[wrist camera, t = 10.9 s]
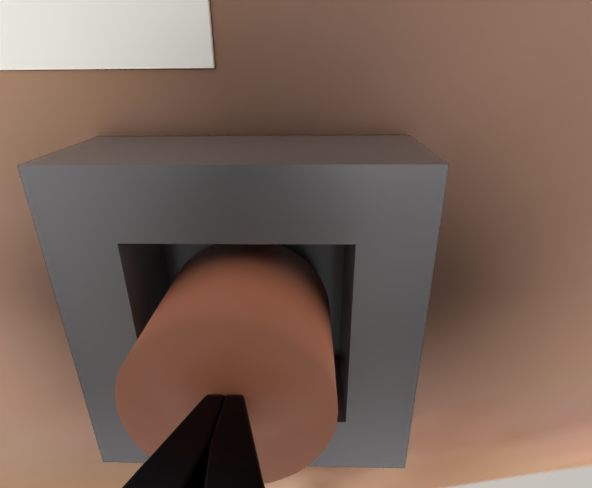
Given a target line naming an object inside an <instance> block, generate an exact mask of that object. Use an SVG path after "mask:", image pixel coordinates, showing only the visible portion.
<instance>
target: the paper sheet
mask: <svg viewBox="0 0 592 488" xmlns="http://www.w3.org/2000/svg"><path fill="white" fill-rule="evenodd" d="M165 68H215V61H214V49H213V37H212V24H211V12H210V0H0V70H53V69H165Z"/></svg>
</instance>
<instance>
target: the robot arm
mask: <svg viewBox="0 0 592 488" xmlns="http://www.w3.org/2000/svg"><path fill="white" fill-rule="evenodd" d="M122 488H265V487H264V482H263V478H262V473H261V469H260V465H259V460H258V456H257V451H256V447H255V442H254V438H253V434H252V429H251V425H250V420H249V416H248V411H247V407H246V403H245V398H244V396H243V395H226V396H224V395H222V394H208V395H206V396H205V397H204V398H203V399H202V400H201V401H200V402H199V403H198V404H197V405H196V407H195V408H194V409H193V410H192V411H191V412H190V413H189V414H188V415H187V417H186V418H185V419H184V420H183V421H182V422H181V423H180V424H179V425H178V426H177V428H176V429H175V430H174V431H173V432H172V433H171V434H170V435H169V436H168V438H167V439H166V440H165V441H164V442H163V443H162V444H161V445H160V446H159V448H158V449H157V450H156V451H155V452H154V453H153V454H152V455H151V456H150V457H149V459H148V460H147V461H146V462H145V463H144V464H143V465H142V466H141V467H140V469H139V470H138V471H137V472H136V473H135V474H134V475H133V476H132V477H131V479H130V480H129V481H128V482H127V483H126V484H125V485H124V486H123V487H122Z"/></svg>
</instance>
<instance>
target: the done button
mask: <svg viewBox="0 0 592 488" xmlns="http://www.w3.org/2000/svg"><path fill="white" fill-rule="evenodd" d="M208 394H222V395H224V396H226V395H243V396H244V398H245V403H246V407H247V411H248V416H249V420H250V425H251V429H252V434H253V438H254V442H255V447H256V451H257V456H258V460H259V465H260V469H261V473H262V478H263V482H264V483H269V482H273V481H276V480H279V479H282V478H285V477H287V476H290V475H292V474H294V473H296V472H298V471H300V470H301V469H303V468H305V467H306V466H307V465H309V464H310V463H311V462H313V461H314V460H315V459H316V458H317V457H318V456H319V455H320V454H321V453H322V452H323V450H324V449H325V448H326V446H327V445H328V444H329V442H330V440H331V438H332V436H333V434H334V431H335V428H336V424H337V418H338V401H337V389H336V377H335V365H334V353H333V341H332V329H331V317H330V305H329V299H328V294H327V292H326V289H325V286H324V284H323V282H322V281H321V279H320V277H319V276H318V274H317V273H316V272H315V270H314V269H313V268H312V267H311V266H310V265H309V264H308V263H307V262H306V261H305V260H304V259H302V258H301V257H300V256H299V255H297V254H296V253H294V252H292V251H291V250H289V249H287V248H285V247H282V246H280V245H278V244H213V245H211V246H209V247H207V248H204V249H203V250H201V251H200V252H198V253H196V254H195V255H194V256H193V257H192V258H190V259H189V260H188V261H187V262H186V263H185V265H184V266H183V267H182V268H181V270H180V271H179V273H178V275H177V276H176V278H175V279H174V281H173V283H172V284H171V286H170V288H169V289H168V291H167V293H166V294H165V296H164V297H163V299H162V301H161V302H160V304H159V306H158V307H157V309H156V310H155V312H154V314H153V315H152V317H151V319H150V320H149V322H148V323H147V325H146V327H145V328H144V330H143V332H142V333H141V335H140V336H139V338H138V340H137V341H136V343H135V345H134V346H133V348H132V349H131V351H130V353H129V354H128V356H127V358H126V359H125V361H124V363H123V364H122V366H121V368H120V371H119V373H118V376H117V381H116V386H115V401H116V408H117V412H118V414H119V417H120V420H121V422H122V424H123V426H124V428H125V430H126V432H127V433H128V434H129V436H130V437H131V439H132V440H133V441H134V442H135V443H136V445H137V446H138V447H139V448H140V449H141V450H142V451H143V452H145V453H146V454H147V455H148V456H149V457H150V456H151V455H152V454H153V453H154V452H155V451H156V450H157V449H158V448H159V446H160V445H161V444H162V443H163V442H164V441H165V440H166V439H167V438H168V436H169V435H170V434H171V433H172V432H173V431H174V430H175V429H176V428H177V426H178V425H179V424H180V423H181V422H182V421H183V420H184V419H185V418H186V417H187V415H188V414H189V413H190V412H191V411H192V410H193V409H194V408H195V407H196V405H197V404H198V403H199V402H200V401H201V400H202V399H203V398H204V397H205V396H206V395H208Z"/></svg>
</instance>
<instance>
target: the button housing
mask: <svg viewBox="0 0 592 488" xmlns="http://www.w3.org/2000/svg"><path fill="white" fill-rule="evenodd" d="M17 166H18V170H19V173H20V176H21V180H22V183H23V187H24V190H25V194H26V197H27V201H28V204H29V208H30V211H31V215H32V218H33V221H34V225H35V228H36V232H37V235H38V239H39V242H40V246H41V249H42V253H43V256H44V259H45V263H46V266H47V270H48V273H49V277H50V280H51V284H52V287H53V291H54V294H55V298H56V301H57V304H58V308H59V311H60V315H61V318H62V322H63V325H64V329H65V332H66V336H67V339H68V342H69V346H70V349H71V353H72V356H73V360H74V363H75V367H76V370H77V374H78V377H79V381H80V384H81V387H82V391H83V394H84V398H85V401H86V405H87V408H88V412H89V415H90V419H91V422H92V425H93V429H94V432H95V436H96V439H97V443H98V446H99V450H100V453H101V457H102V460H103V462H124V463H145V462H146V461H147V460H148V459H149V456H148V455H147V454H146V453H145V452H143V451H142V450H141V449H140V448H139V447H138V446H137V445H136V443H135V442H134V441H133V440H132V439H131V437H130V436H129V434H128V433H127V432H126V430H125V428H124V426H123V424H122V422H121V420H120V417H119V414H118V412H117V408H116V401H115V386H116V381H117V376H118V373H119V371H120V368H121V366H122V364H123V363H124V361H125V359H126V358H127V356H128V354H129V353H130V351H131V349H132V348H133V346H134V345H135V343H136V341H137V340H138V338H139V336H140V335H141V333H142V332H143V330H144V328H145V327H146V325H147V323H148V322H149V320H150V319H151V317H152V315H153V314H154V312H155V310H156V309H157V307H158V306H159V304H160V302H161V301H162V299H163V297H164V296H165V294H166V293H167V291H168V289H169V288H170V286H171V284H172V283H173V281H174V279H175V278H176V276H177V275H178V273H179V271H180V270H181V268H182V267H183V266H184V265H185V263H186V262H187V261H188V260H189V259H190V258H192V257H193V256H194V255H195V254H196V253H198V252H200V251H201V250H203V249H204V248H207V247H209V246H211V245H213V244H278V245H280V246H282V247H285V248H287V249H289V250H291V251H292V252H294V253H296V254H297V255H299V256H300V257H301V258H302V259H304V260H305V261H306V262H307V263H308V264H309V265H310V266H311V267H312V268H313V269H314V270H315V272H316V273H317V274H318V276H319V277H320V279H321V281H322V282H323V284H324V286H325V289H326V292H327V294H328V299H329V305H330V317H331V329H332V341H333V353H334V365H335V377H336V389H337V401H338V418H337V424H336V428H335V431H334V434H333V436H332V438H331V440H330V442H329V444H328V445H327V446H326V448H325V449H324V450H323V452H322V453H321V454H320V455H319V456H318V457H317V458H316V459H315V460H314V461H313V462H311V463H310V464H309V465H307V466H320V467H369V468H405V463H406V456H407V450H408V443H409V436H410V429H411V422H412V415H413V408H414V401H415V394H416V387H417V381H418V374H419V367H420V360H421V353H422V346H423V339H424V332H425V325H426V318H427V312H428V305H429V298H430V291H431V284H432V277H433V270H434V263H435V256H436V249H437V243H438V236H439V229H440V222H441V215H442V208H443V201H444V194H445V187H446V181H447V174H448V167H449V164H447V163H446V162H445V161H443V160H442V159H441V158H439V157H438V156H437V155H435V154H434V153H433V152H431V151H430V150H429V149H427V148H426V147H425V146H423V145H422V144H421V143H419V142H418V141H417V140H415V139H414V138H413V137H411V136H410V135H323V136H97V137H95V138H92V139H89V140H86V141H83V142H81V143H78V144H75V145H72V146H69V147H67V148H64V149H61V150H58V151H56V152H53V153H50V154H47V155H44V156H42V157H39V158H36V159H33V160H30V161H28V162H25V163H22V164H19V165H17Z"/></svg>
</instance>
